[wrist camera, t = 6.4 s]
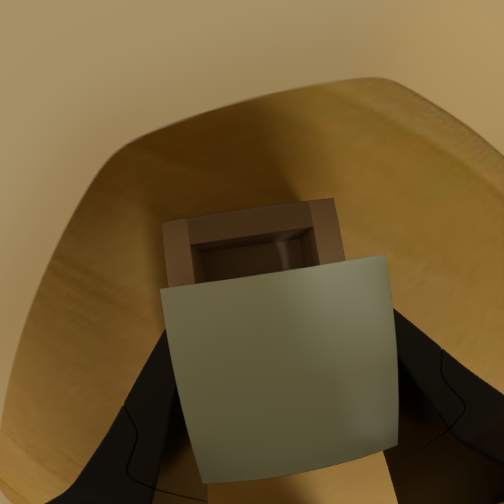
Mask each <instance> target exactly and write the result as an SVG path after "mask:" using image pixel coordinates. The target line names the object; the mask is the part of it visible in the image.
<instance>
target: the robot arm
mask: <svg viewBox="0 0 504 504" xmlns="http://www.w3.org/2000/svg"><path fill="white" fill-rule="evenodd" d="M393 313H394V323H395V334H396V347H397V364H398V400H399V409H398V444H397V445H396V446H394V447H391V448H388V449H386V450H383V453H384V456H385V459H386V463H387V466H388V470H389V473H390V476H391V480H392V483H393V487H394V490H395V494H396V497H397V501H398V504H504V395H503V394H502V393H501V392H499V391H498V390H496V389H495V388H494V387H492V386H491V385H489V384H488V383H486V382H485V381H484V380H482V379H481V378H479V377H478V376H477V375H475V374H474V373H473V372H471V371H470V370H468V369H467V368H466V367H464V366H463V365H462V364H461V363H459V362H458V361H457V360H456V359H455V358H453V357H452V356H451V355H450V354H449V353H447V352H446V351H445V350H444V349H441V347H440V346H439V345H438V344H437V343H435V342H434V341H433V340H432V339H431V338H429V337H428V336H427V335H426V334H425V333H423V332H422V331H421V330H420V329H418V328H417V327H416V326H415V325H414V324H412V323H411V322H410V321H409V320H407V319H406V318H405V317H404V316H403V315H401V314H400V313H399V312H398V311H396V310H395V309H394V308H393ZM45 504H208V502H207V483H204V484H203V482H202V479H201V476H200V472H199V469H198V466H197V462H196V459H195V456H194V452H193V449H192V445H191V441H190V438H189V434H188V430H187V426H186V422H185V418H184V414H183V410H182V406H181V402H180V397H179V393H178V389H177V384H176V379H175V375H174V370H173V365H172V360H171V354H170V349H169V344H168V338H167V332H166V328H165V330H164V332H163V333H162V335H161V337H160V339H159V340H158V342H157V344H156V346H155V348H154V349H153V351H152V353H151V355H150V356H149V358H148V360H147V362H146V364H145V365H144V367H143V369H142V371H141V373H140V374H139V376H138V378H137V380H136V382H135V383H134V385H133V387H132V389H131V391H130V393H129V394H128V396H127V398H126V400H125V402H124V406H122V407H121V409H120V411H119V413H118V415H117V417H116V418H115V420H114V422H113V424H112V426H111V427H110V429H109V431H108V433H107V434H106V436H105V437H104V439H103V440H102V442H101V443H100V445H99V447H98V448H97V450H96V451H95V453H94V454H93V455H92V457H91V458H90V460H89V461H88V463H87V464H86V466H85V467H84V469H83V470H82V472H81V473H80V475H79V476H78V478H77V479H76V480H75V482H74V483H73V484H72V485H71V486H70V487H69V488H68V489H67V490H66V491H65V492H64V493H62V494H61V495H59V496H57V497H56V498H54V499H52V500H51V501H49V502H47V503H45Z"/></svg>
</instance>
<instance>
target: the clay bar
mask: <svg viewBox="0 0 504 504" xmlns="http://www.w3.org/2000/svg"><path fill="white" fill-rule="evenodd" d="M160 293H161V300H162V307H163V314H164V320H165V326H166V332H167V338H168V344H169V349H170V354H171V360H172V365H173V370H174V375H175V379H176V384H177V389H178V393H179V397H180V402H181V406H182V410H183V414H184V418H185V422H186V426H187V430H188V434H189V438H190V441H191V445H192V449H193V452H194V456H195V459H196V462H197V466H198V469H199V472H200V476H201V479H202V482H203V484H204V483H226V482H239V481H250V480H259V479H266V478H274V477H280V476H286V475H292V474H297V473H303V472H307V471H312V470H317V469H321V468H325V467H329V466H333V465H337V464H341V463H345V462H348V461H352V460H355V459H358V458H362V457H365V456H368V455H371V454H374V453H377V452H380V451H383V450H386V449H388V448H391V447H394V446H396V445H397V444H398V409H399V400H398V364H397V347H396V334H395V323H394V313H393V304H392V296H391V288H390V281H389V274H388V268H387V262H386V256H385V254H384V255H378V256H372V257H367V258H361V259H355V260H349V261H343V262H337V263H331V264H325V265H319V266H313V267H307V268H301V269H294V270H288V271H282V272H275V273H269V274H262V275H255V276H249V277H242V278H235V279H228V280H221V281H214V282H207V283H200V284H193V285H185V286H178V287H170V288H163V289H160Z"/></svg>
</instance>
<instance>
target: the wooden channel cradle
mask: <svg viewBox="0 0 504 504" xmlns="http://www.w3.org/2000/svg"><path fill="white" fill-rule="evenodd" d="M161 226H162V237H163V246H164V255H165V264H166V272H167V280H168V287H169V288H170V287H178V286H185V285H193V284H200V283H207V282H214V281H221V280H228V279H235V278H242V277H249V276H255V275H262V274H269V273H275V272H282V271H288V270H294V269H301V268H307V267H313V266H319V265H325V264H331V263H337V262H343V261H345V256H344V250H343V244H342V239H341V233H340V228H339V223H338V218H337V213H336V208H335V203H334V199H333V198H328V199H319V200H310V201H302V202H294V203H286V204H279V205H271V206H264V207H256V208H249V209H242V210H235V211H229V212H222V213H216V214H209V215H203V216H197V217H191V218H185V219H179V220H173V221H167V222H161Z"/></svg>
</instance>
